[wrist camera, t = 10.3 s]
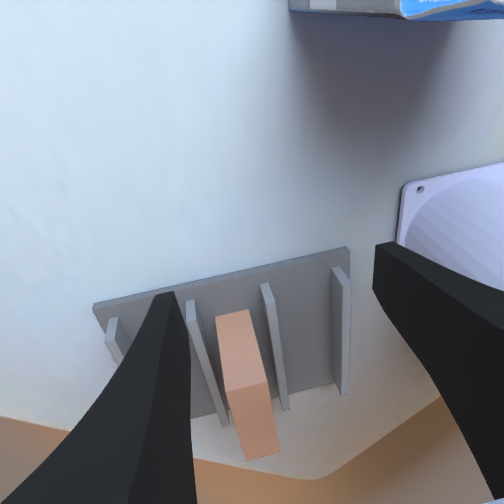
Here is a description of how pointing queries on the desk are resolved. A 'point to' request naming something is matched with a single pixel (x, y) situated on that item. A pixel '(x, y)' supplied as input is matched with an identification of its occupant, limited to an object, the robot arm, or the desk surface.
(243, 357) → the tile
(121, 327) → the rack
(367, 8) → the label tape box
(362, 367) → the desk surface
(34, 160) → the desk surface
